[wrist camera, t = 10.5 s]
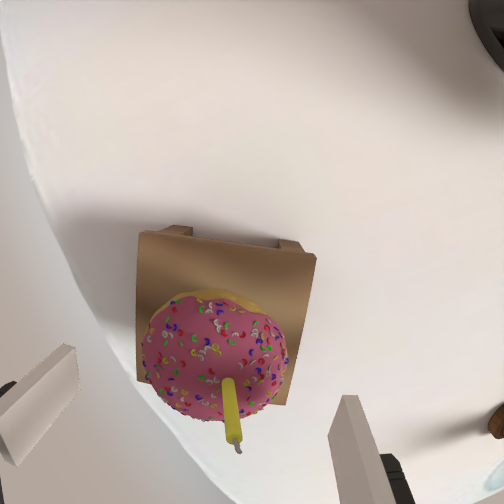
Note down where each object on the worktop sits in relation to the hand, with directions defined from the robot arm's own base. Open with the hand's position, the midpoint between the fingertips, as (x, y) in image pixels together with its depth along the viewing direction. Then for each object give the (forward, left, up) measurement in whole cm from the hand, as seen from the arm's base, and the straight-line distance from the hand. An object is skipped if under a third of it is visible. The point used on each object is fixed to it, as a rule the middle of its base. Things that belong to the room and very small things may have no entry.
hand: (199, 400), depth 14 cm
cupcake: (0, 0, -9) cm, 9 cm away
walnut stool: (0, 0, -17) cm, 17 cm away
